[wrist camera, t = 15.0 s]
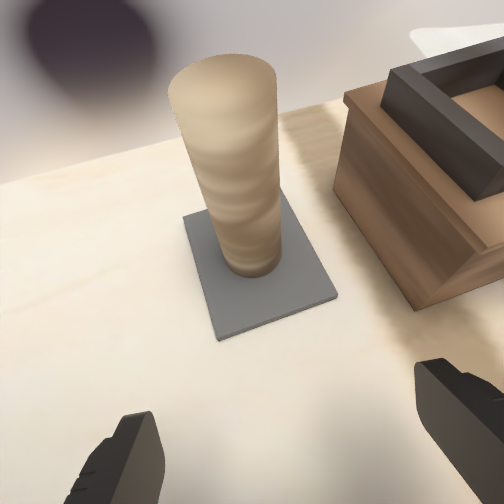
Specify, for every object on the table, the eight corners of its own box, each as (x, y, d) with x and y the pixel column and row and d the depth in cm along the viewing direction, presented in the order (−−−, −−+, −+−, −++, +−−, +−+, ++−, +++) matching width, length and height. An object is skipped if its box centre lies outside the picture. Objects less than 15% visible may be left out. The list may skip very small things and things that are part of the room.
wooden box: (413, 317, 19) (521, 215, 10) (327, 187, 25) (350, 55, 16) (586, 251, 20) (809, 112, 12) (464, 143, 26) (552, -1, 18)
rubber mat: (218, 341, 19) (216, 338, 18) (184, 221, 24) (182, 217, 24) (336, 297, 20) (338, 294, 19) (279, 191, 25) (279, 186, 25)
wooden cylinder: (240, 288, 20) (192, 133, 10) (215, 244, 22) (153, 78, 12) (292, 260, 21) (297, 88, 11) (263, 220, 23) (244, 43, 13)
